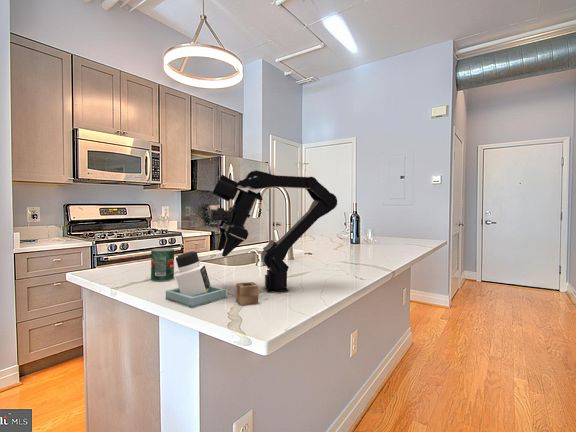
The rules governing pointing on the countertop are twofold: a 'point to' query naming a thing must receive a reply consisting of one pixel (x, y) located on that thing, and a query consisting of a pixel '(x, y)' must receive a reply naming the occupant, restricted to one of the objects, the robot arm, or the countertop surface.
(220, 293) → the tray
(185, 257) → the medicine bottle
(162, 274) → the canned tomato
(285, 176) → the robot arm
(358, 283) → the countertop surface
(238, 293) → the brown open box
